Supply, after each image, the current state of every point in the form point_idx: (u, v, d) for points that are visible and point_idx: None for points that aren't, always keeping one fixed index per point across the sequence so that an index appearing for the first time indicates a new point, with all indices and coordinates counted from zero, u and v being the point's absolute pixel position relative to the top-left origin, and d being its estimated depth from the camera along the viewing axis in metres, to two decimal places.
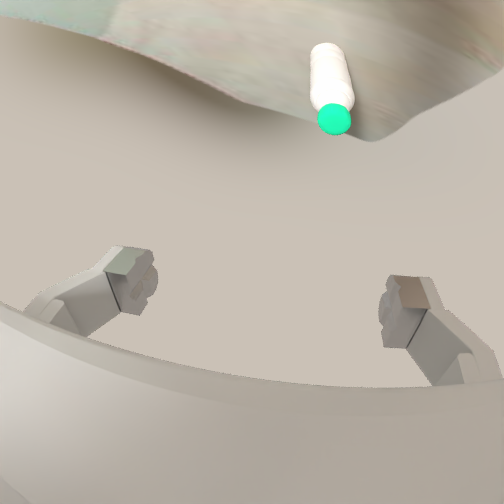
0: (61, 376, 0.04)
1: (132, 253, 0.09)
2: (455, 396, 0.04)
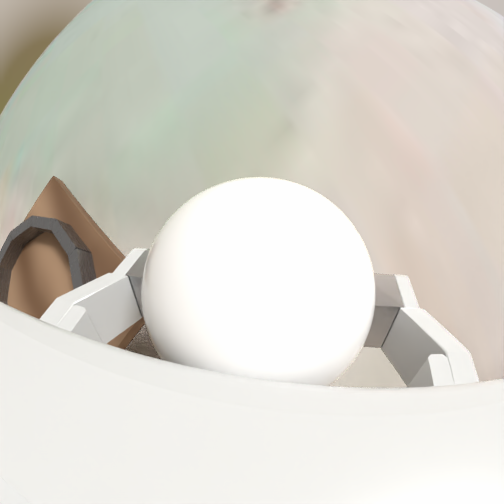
0: (61, 376, 0.04)
1: None
2: (455, 396, 0.04)
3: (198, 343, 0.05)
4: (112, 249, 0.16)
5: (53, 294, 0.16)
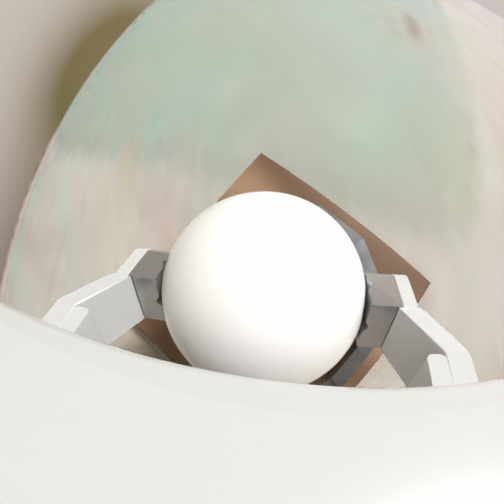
0: (61, 376, 0.04)
1: (158, 256, 0.09)
2: (455, 396, 0.04)
3: (215, 333, 0.06)
4: None
5: None
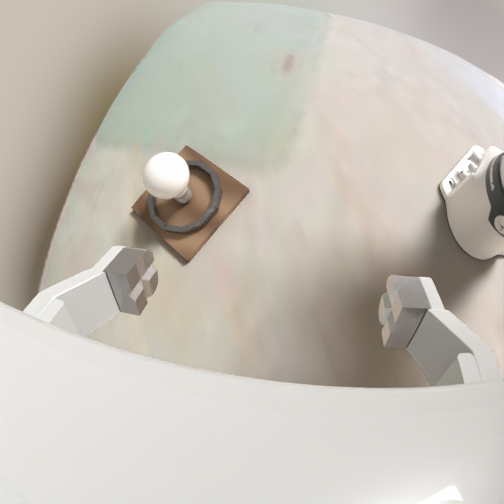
0: (61, 376, 0.04)
1: (132, 253, 0.09)
2: (455, 396, 0.04)
3: (150, 174, 0.33)
4: None
5: (194, 193, 0.44)
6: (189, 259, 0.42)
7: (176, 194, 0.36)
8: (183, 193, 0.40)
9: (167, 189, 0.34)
